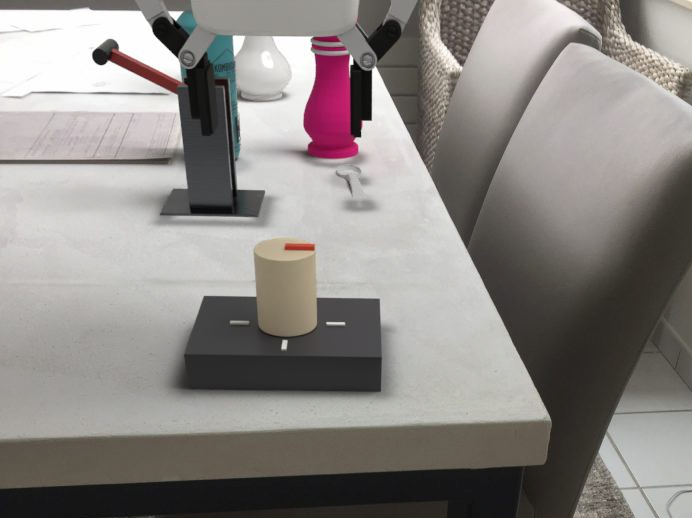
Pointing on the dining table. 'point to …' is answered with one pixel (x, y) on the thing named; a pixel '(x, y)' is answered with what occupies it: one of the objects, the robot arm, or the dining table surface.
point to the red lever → (132, 65)
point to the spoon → (352, 180)
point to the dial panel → (285, 348)
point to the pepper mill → (330, 102)
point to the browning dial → (286, 286)
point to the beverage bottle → (218, 66)
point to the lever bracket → (211, 165)
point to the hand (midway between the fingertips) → (283, 131)
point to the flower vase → (261, 69)
